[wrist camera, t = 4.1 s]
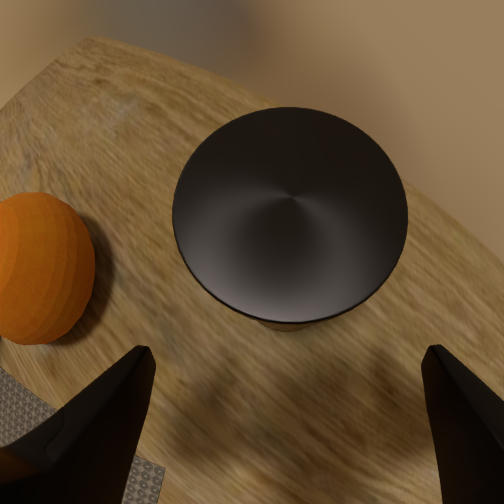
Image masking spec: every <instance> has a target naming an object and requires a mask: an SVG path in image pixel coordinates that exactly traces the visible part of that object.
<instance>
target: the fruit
mask: <svg viewBox="0 0 504 504" xmlns="http://www.w3.org/2000/svg"><path fill="white" fill-rule="evenodd" d="M94 278H95V252H94V249H93V245H92V242H91V238H90V235H89V231H88V229H87V227H86V226H85V224H84V223H83V221H82V220H81V219H80V217H79V216H78V214H77V213H76V211H75V210H74V209H73V208H72V207H71V206H70V205H68V204H66V203H64V202H63V201H61V200H59V199H57V198H55V197H54V196H52V195H50V194H46V193H42V192H41V193H20V194H17V195H14V196H12V197H10V198H8V199H6V200H4V201H2V202H1V203H0V335H1V336H3V337H4V338H6V339H8V340H10V341H12V342H14V343H16V344H21V345H36V344H47V343H50V342H52V341H54V340H56V339H57V338H59V337H61V336H62V335H64V334H66V333H67V332H68V331H69V330H70V329H71V328H72V327H73V326H74V324H75V323H76V322H77V321H78V320H79V318H80V317H81V316H82V315H83V312H84V310H85V308H86V306H87V303H88V301H89V299H90V297H91V293H92V288H93V283H94Z"/></svg>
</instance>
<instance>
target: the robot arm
mask: <svg viewBox="0 0 504 504" xmlns="http://www.w3.org/2000/svg"><path fill="white" fill-rule="evenodd" d="M155 371H156V363H155V360H154V357H153V355H152V352H151V350H150V348H149V347H148V346H142V345H137V346H135V347H134V348H133V349H131V350H130V351H129V352H128V353H127V354H125V355H124V356H123V357H122V358H121V359H119V360H118V361H117V362H116V363H115V364H113V365H112V366H111V367H110V368H109V369H107V370H106V371H105V372H104V373H102V374H101V375H100V376H99V377H98V378H96V379H95V380H94V381H93V382H92V383H90V384H89V385H88V386H87V387H86V388H84V389H83V390H82V391H81V392H80V393H78V394H77V395H76V396H75V397H74V398H72V399H71V400H70V401H69V402H68V403H66V404H65V405H64V407H61V408H60V409H59V410H58V411H57V412H55V413H54V414H53V415H52V416H50V417H49V418H48V419H46V420H45V421H44V422H42V423H41V424H39V425H38V426H37V427H35V428H34V429H32V430H31V431H29V432H28V433H26V434H25V435H23V436H22V437H20V438H19V439H17V440H16V441H14V442H12V443H11V444H9V445H6V446H3V447H0V504H122V500H123V496H124V492H125V488H126V485H127V481H128V477H129V473H130V470H131V466H132V463H133V459H134V455H135V452H136V448H137V445H138V441H139V438H140V435H141V431H142V428H143V425H144V421H145V418H146V415H147V411H148V407H149V403H150V397H151V392H152V386H153V381H154V376H155ZM421 371H422V378H423V385H424V393H425V401H426V408H427V413H428V417H429V422H430V427H431V432H432V437H433V442H434V447H435V453H436V459H437V465H438V471H439V478H440V485H441V494H442V503H443V504H504V401H503V400H502V399H501V398H500V397H499V396H498V395H497V394H496V393H495V392H493V391H492V390H491V389H490V388H489V387H488V386H487V385H486V384H485V383H484V382H483V381H482V380H480V379H479V378H478V377H477V376H476V375H475V374H474V373H473V372H472V371H471V370H469V369H468V368H467V367H466V366H465V365H464V364H463V363H462V362H460V361H459V360H458V359H457V358H456V357H455V356H454V355H453V354H451V353H450V352H449V351H448V350H447V349H446V348H445V347H443V346H442V345H440V344H437V345H431V346H429V347H428V349H427V351H426V354H425V356H424V358H423V360H422V363H421Z"/></svg>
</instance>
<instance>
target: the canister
mask: <svg viewBox="0 0 504 504" xmlns="http://www.w3.org/2000/svg"><path fill="white" fill-rule="evenodd" d="M172 223H173V230H174V236H175V240H176V243H177V247H178V250H179V252H180V254H181V257H182V259H183V261H184V263H185V265H186V267H187V268H188V270H189V271H190V273H191V274H192V276H193V277H194V278H195V280H196V281H197V282H198V283H199V284H200V285H201V286H202V287H203V289H204V290H205V291H207V292H208V293H209V294H210V295H211V296H212V297H214V298H215V299H216V300H217V301H219V302H220V303H222V304H223V305H225V306H227V307H228V308H230V309H231V310H233V311H235V312H237V313H239V314H241V315H243V316H245V317H248V318H250V319H253V320H256V321H257V322H259V323H260V324H262V325H264V326H265V327H268V328H270V329H273V330H277V331H283V332H291V331H297V330H301V329H304V328H307V327H309V326H311V325H313V324H316V323H320V322H323V321H327V320H330V319H333V318H335V317H337V316H339V315H342V314H344V313H346V312H348V311H350V310H352V309H354V308H355V307H357V306H359V305H360V304H362V303H363V302H365V301H366V300H367V299H368V298H370V297H371V296H372V295H373V294H374V293H375V292H377V291H378V290H379V288H380V287H381V286H382V285H383V284H384V283H385V281H386V280H387V279H388V278H389V276H390V275H391V273H392V271H393V270H394V268H395V267H396V265H397V263H398V260H399V258H400V256H401V254H402V251H403V248H404V244H405V240H406V236H407V227H408V207H407V201H406V195H405V191H404V188H403V185H402V182H401V179H400V177H399V175H398V172H397V170H396V168H395V167H394V165H393V163H392V162H391V161H390V159H389V157H388V156H387V154H386V153H385V152H384V151H383V150H382V148H381V147H380V146H379V145H378V144H377V143H376V142H375V141H374V140H373V139H372V138H371V137H370V136H369V135H367V134H366V133H364V132H363V131H362V130H360V129H359V128H358V127H356V126H354V125H353V124H351V123H349V122H348V121H346V120H343V119H341V118H339V117H337V116H334V115H332V114H328V113H325V112H322V111H317V110H313V109H308V108H298V107H278V108H269V109H264V110H260V111H255V112H252V113H249V114H246V115H243V116H241V117H239V118H236V119H234V120H232V121H230V122H228V123H227V124H225V125H223V126H222V127H220V128H219V129H217V130H216V131H215V132H213V133H212V134H211V135H210V136H208V137H207V138H206V139H205V140H204V141H203V142H202V143H201V144H200V145H199V146H198V148H197V149H196V150H195V151H194V153H193V154H192V155H191V156H190V158H189V160H188V161H187V163H186V165H185V166H184V168H183V170H182V173H181V175H180V177H179V180H178V183H177V186H176V190H175V193H174V200H173V207H172Z"/></svg>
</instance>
